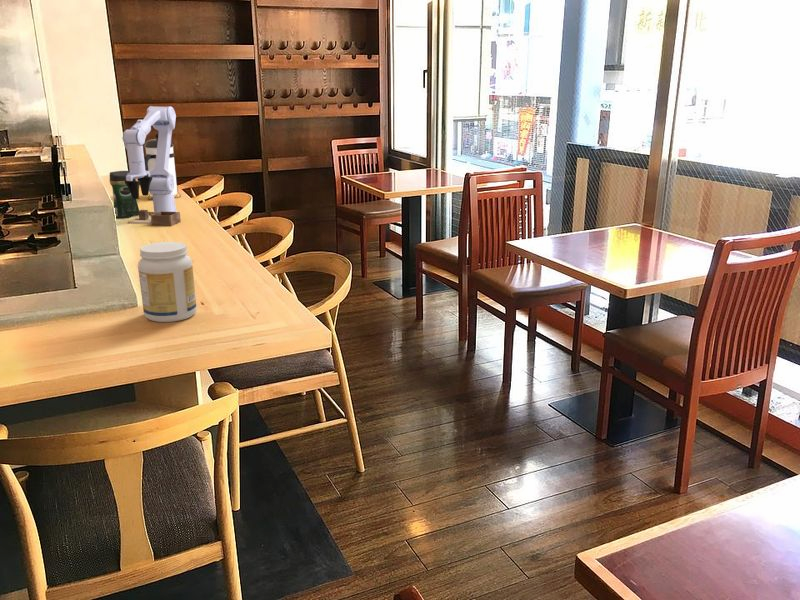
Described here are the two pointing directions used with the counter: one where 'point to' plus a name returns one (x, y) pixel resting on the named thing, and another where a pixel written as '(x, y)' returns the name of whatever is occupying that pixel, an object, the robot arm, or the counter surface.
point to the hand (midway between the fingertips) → (140, 197)
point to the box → (165, 218)
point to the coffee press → (151, 160)
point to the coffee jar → (122, 196)
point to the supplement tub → (166, 282)
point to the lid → (142, 218)
